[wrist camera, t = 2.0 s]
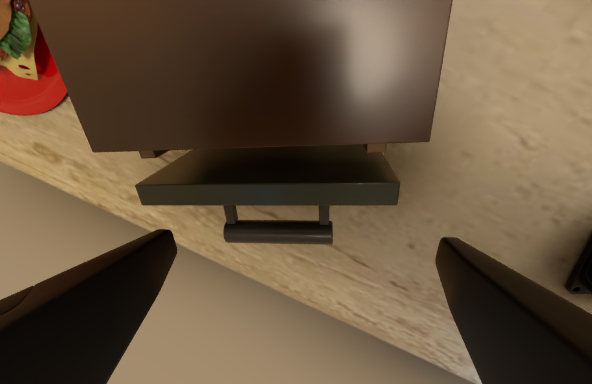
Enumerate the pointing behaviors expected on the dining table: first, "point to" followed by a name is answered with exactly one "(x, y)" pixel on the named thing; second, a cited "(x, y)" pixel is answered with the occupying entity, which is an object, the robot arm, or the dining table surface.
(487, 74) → the dining table surface
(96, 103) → the cabinet
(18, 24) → the hamburger
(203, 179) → the drawer
